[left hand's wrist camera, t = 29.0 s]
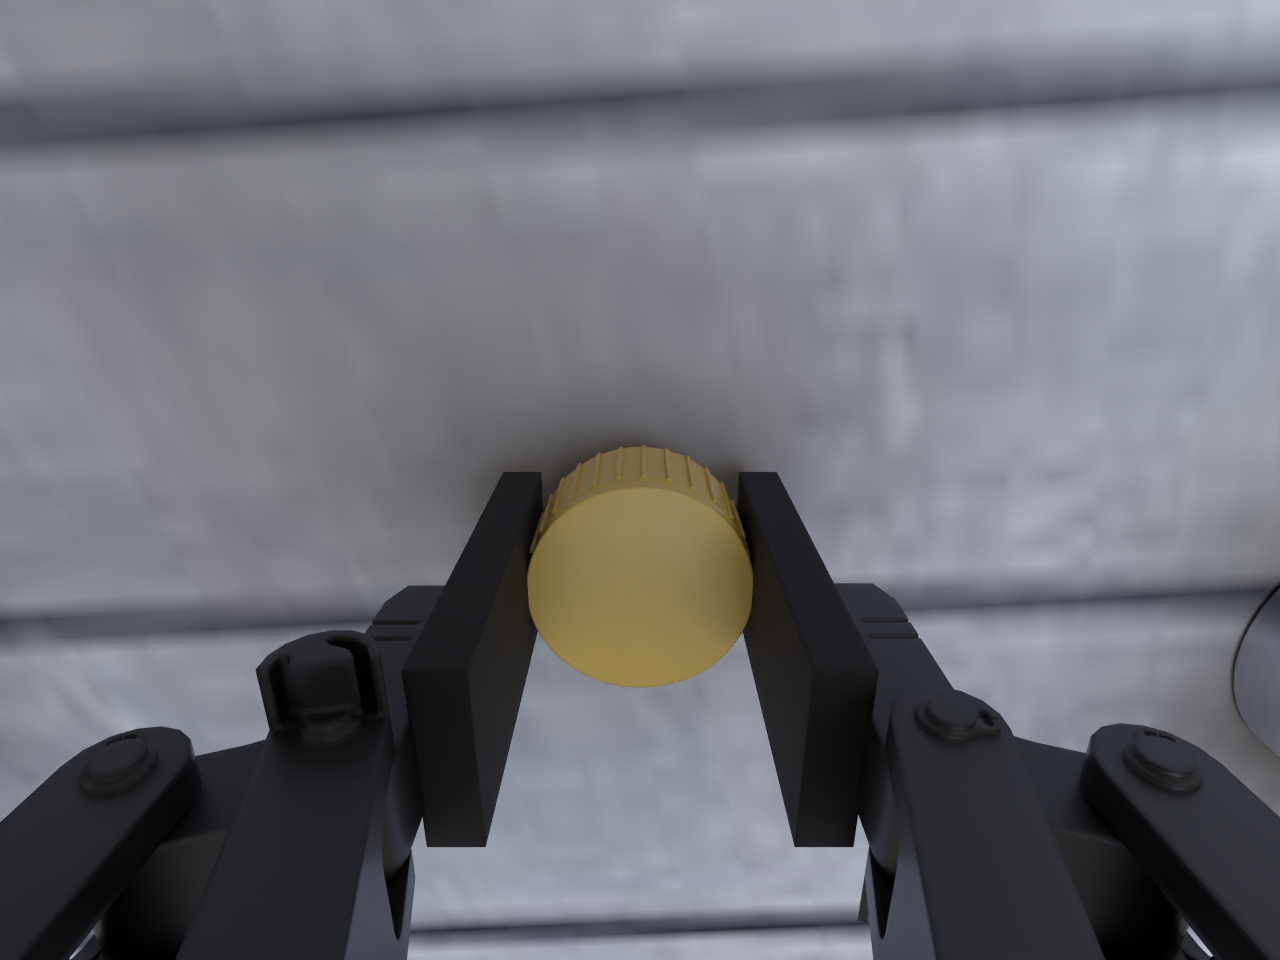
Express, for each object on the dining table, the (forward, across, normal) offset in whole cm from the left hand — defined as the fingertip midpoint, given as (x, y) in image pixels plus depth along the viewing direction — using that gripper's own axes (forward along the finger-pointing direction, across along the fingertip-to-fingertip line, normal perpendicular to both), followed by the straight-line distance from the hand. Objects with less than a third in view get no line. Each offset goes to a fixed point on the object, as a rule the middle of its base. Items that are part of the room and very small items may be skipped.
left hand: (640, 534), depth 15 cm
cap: (-2, 0, 0) cm, 2 cm away
